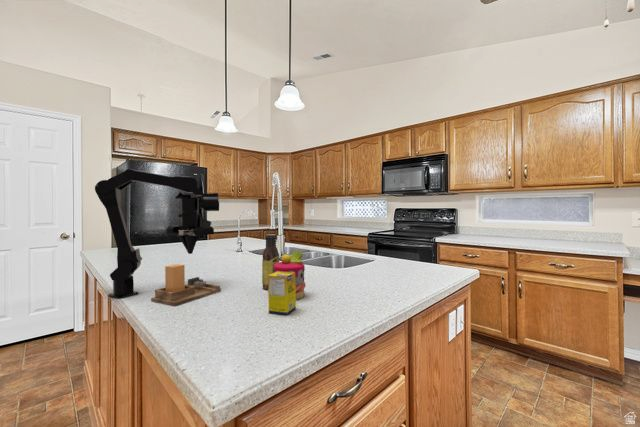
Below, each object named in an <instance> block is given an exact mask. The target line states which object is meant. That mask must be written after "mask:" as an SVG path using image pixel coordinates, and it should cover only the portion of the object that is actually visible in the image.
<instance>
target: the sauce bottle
mask: <svg viewBox="0 0 640 427" xmlns="http://www.w3.org/2000/svg"><path fill="white" fill-rule="evenodd" d="M278 251H279V250H278V248H277V234H275V233H273V234H265V248H264V250H263V252H262V260H261V262H262V264H261V267H262V268H261V270H262V271H261V272H262V274H261V276H262V278H261V283H262V289H263V290H268V275H270V274H272V273H274V265H275V264H276V263H279V262H280V253H279V252H278Z"/></svg>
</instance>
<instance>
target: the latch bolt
mask: <svg viewBox="0 0 640 427" xmlns="http://www.w3.org/2000/svg"><path fill="white" fill-rule="evenodd" d="M199 279H200V280H198V281H194V282H193V285H195V286H201V287H206V284H207V281H205V280H204V279H203V278H199Z"/></svg>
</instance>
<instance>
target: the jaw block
mask: <svg viewBox="0 0 640 427" xmlns="http://www.w3.org/2000/svg"><path fill="white" fill-rule="evenodd" d="M185 266H186V265H185V264H179V263H176V264H171V265H165V267H164V268H165V269H164V273H165V274H164V276H165V278H164V279H165V287H166V291H167V292H177V291H180V290H184V289H185V282H186V281H185V279H186V278H185V275H186V274H185V272H186V271H185Z"/></svg>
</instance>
